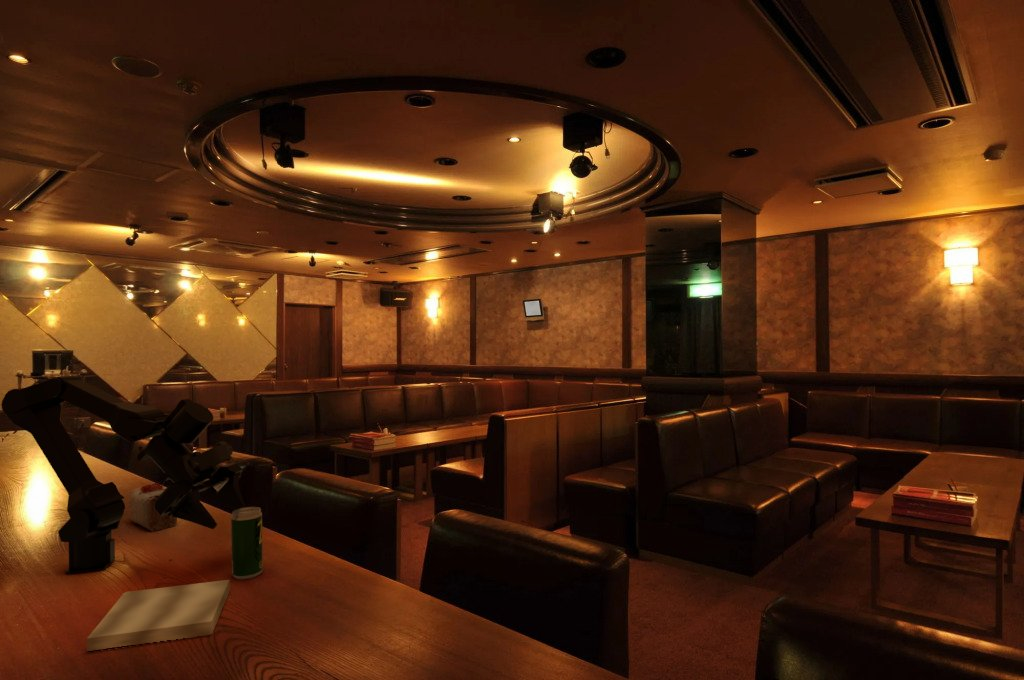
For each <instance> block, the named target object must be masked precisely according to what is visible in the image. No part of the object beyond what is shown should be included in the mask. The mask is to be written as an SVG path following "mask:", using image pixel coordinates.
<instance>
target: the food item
mask: <svg viewBox="0 0 1024 680" xmlns="http://www.w3.org/2000/svg"><path fill="white" fill-rule="evenodd" d="M165 482H166V481H164V480H163V483H162V484H161V483H159V482H154V483H151V484H146V485H142V486H140V487H137V488H133V489H131V490H130V491H129V502H128V503H129V506H128V507H129V509H130V510H129V511H130V519H131V522H132V523H135V524H138V525H139V526H142V527H143V528H145V529H147V530H149V531H150V532H157V531H161V530H164V528H165V529H169V528H168V527H171V528H174V527H175V526H176V525H177V522H178V518H176V517H168V516H167V515H168V514H169V513H168V514H166V515H164V516H160V515H159V514H158V513H157V512H156V510H155V509H154V501H155V500H156V499H157V498H158V497H159V496H160V495H161V493H162V492H163V491H164V490H165V489H166V488H164V486H163V485H164V483H165ZM173 526H174V527H173ZM160 529H161V530H160Z"/></svg>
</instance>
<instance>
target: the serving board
mask: <svg viewBox="0 0 1024 680" xmlns="http://www.w3.org/2000/svg"><path fill="white" fill-rule="evenodd" d="M230 581H231V580H230V579H224V580H216V581H215V580H214V581H208V582H207V581H206V582H199V583H191V584H183V585H174V586H167V587H165V586H163V587H158V588H157V587H156V588H147V589H140V590H132V591H131V590H130V591H125V592H124V593H122V595H121V596H120V597H119V599H117V601H116V602H115V603H114V605H113V606H112V607H111V609H110V610H109V611H108V612H107V613H106V615H105V616H104V617H103V618H102V619H101V621H99V623H98V625H96V627H95V628H94V629H93V631H92V632H91V633H90V634H89V635H88V637H86V652H87V651H92V650H98V649H106V648H112V647H118V646H119V647H121V646H127V645H136V644H143V643H150V644H154V643H153V642H157V643H161V642H160V641H164V642H168V641H167V640H171V641H177V640H176V639H178V640H183V638H185V639H190V638H197V637H198V636H199V637H205V636H206V637H207V636H213V632H214V630H215V629H216V626H217V623H218V621H219V618H220V616H221V613H222V611H223V608H224V606H225V604H226V601H227V599H228V596H229V594H230V592H231V588H230V584H231V583H230ZM199 637H198V638H199ZM143 645H144V644H143ZM136 646H137V645H136Z"/></svg>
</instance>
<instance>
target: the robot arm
mask: <svg viewBox="0 0 1024 680" xmlns="http://www.w3.org/2000/svg"><path fill="white" fill-rule="evenodd" d="M66 402H67V403H69V404H71V405H73V406H75V407H77V408H79V409H81V410H83V411H85V412H87V413H89V414H91V415H93V416H95V417H97V418H99V419H101V420H104V421H105V422H106V423H108V424H109V426H110V428H111V430H112V431H113V432H114V433H115V434H117V435H118V436H119V437H121V438H122V439H123V440H125V441H127V442H130V443H135V442H140V441H143V440H148V439H150V440H149V441H148V442H147V443H146V444H143V445H140V446H138V453H137V455H136V460H137V462H141V461H145V460H148V459H151V461H153V463H155V464H156V466H157V467H158V468H159V469H160V470H161V471H162V472H163V473H164V474H163V475H162V476H161V477H160V478H161V479H162V481H163V482H164V481H165V482H166V481H169V480H171V482H172V483H170V484H169V485H168V486H166V488H164V489H165V490H164V491H163V492H162V493H161V495H160V496H159V497H158V498H157V499H156V500H155V501H154V509H155V510H156V512H157V513H158V514H159V515H160V516H164V515H166V514H168V513H169V514H168V515H167V516H168V517H176V518H177V519H181V520H183V521H187V522H190V523H193V524H197V525H200V526H202V527H205V528H208V529H211V530H215V528H216V527H217V526H218V523H217V522H216V520H215V519H214V517H213V515H211V513H210V512H209V511H208V509H207V508H206V507H205V506H204V505H203V503H202V502H201V500H200V493H201V492H204V491H206V490H208V491H209V492H210V493H212V494H215V495H214V496H213V497H214V498H215V499H217V500H219V501H220V502H222V503H224V504H225V505H227V506H229V508H231V509H233V510H236V509H240V508H245V507H247V506H246V503H245V500H244V498H243V495H242V494H241V493H242V492H241V491H240V488H239V480H240V478H241V477H242V472H243V468H242V467H241V466H240V465H239V464H238V462H230V463H227V464H225V465H221V466H220V467H219V468H218V467H217V466H218V465H220V464H223V463H224V462H227V461H230V460H233V457H232V455H233V451H234V447H232V446H231V445H230V444H229V443H227V441H225V440H222V441H218V443H216V444H213V445H212V447H211V448H209V449H206V450H205V451H203V452H201V451H198V450H197V451H194V452H192V450H191V449H190V448H189V447H187V445H186V444H192V443H193V444H194V442H195V441H196V440H197V439H198V438H199V437H200V435H202V433H203V432H204V431H205V430H206V429H207V428H208V427H209V426H210V425H211V423H212V422H213V420H214V415H213V413H212V411H211V410H210V409H209V408H207V407H205V406H204V405H201V404H199V403H197V402H194V401H193V400H191V399H190V398H184V399H182V398H181V400H180V401H179V402H178V403H177V405H176V406H175V408H174V409H173V410H172V412H170V413H169V414H167V413H165V412H164V411H163V410H161V409H160V408H157V407H153V406H149V405H145V404H142V403H132V402H128V401H125V400H123V399H121V398H118V397H117V396H115V395H112V394H111V393H109V392H107V391H104V390H102V389H100V388H99V387H96V386H94V385H92V384H91V383H88V382H86V381H84V380H83V379H81V378H80V377H78V376H76V375H72V374H71V375H60V376H54V377H51V378H49V379H48V380H47V379H46V380H44V381H43V382H42V381H41V382H38V383H35V384H32V385H29V386H26V387H21V388H20V387H19V388H12V389H9V390H8V391H7V392H6V393H5V395H4V397H3V398H2V400H1V404H0V406H1V410H2V411H3V413H4V414H5V416H6V417H7V418H8V419H9V420H10V421H11V422H12V424H13V425H14V426H17V427H18V428H20V429H22V430H24V431H26V432H28V433H29V434H30V435H31V436H32V437H33V439H34V440H35V442H36V444H37V446H38V448H39V449H40V450H41V452H42V454H43V455H44V456H45V458H46V460H47V461H48V463H49V465H50V466H51V469H52V470H53V471H54V472H55V475H56V477H57V479H58V480H59V482H61V485H62V486H63V487H64V490H65V491H66V493H67V495H68V499H67V507H66V511H67V513H68V517H69V518H68V520H67V521H65V523H64V524H63V525H62V526H61V528H60V529H59V530H58V531H57V534H58V536H59V539H60V542H62V543H68V568H67V569H66V570H65V571H64V574H65V575H71V574H79V573H88V572H96V571H97V572H98V571H103V570H106V569H107V567H108V566H110V565H111V564H112V562H113V561H115V559H116V545H115V544H116V543H115V538H114V537H112V531H113V530H117V529H119V526H120V523H121V519H122V518H123V516H124V514H125V510H126V504H125V502H124V499H125V496H124V495H122V494H121V493H120V491H119V489H118V488H117V485H116V484H115V482H114V481H110V482H107V483H103V482H101V481H99V480H98V479H97V478H96V476H95V474H94V473H93V472H92V470H91V468H90V467H89V465H88V463H87V462H86V460H85V459H84V457H83V455H82V454H81V453H80V451H79V449H78V448H77V446H76V444H75V443H74V441H73V439H72V438H71V436H70V435H69V433H68V431H67V430H66V428H65V427H64V425H63V424H62V422H61V417H62V408H63V407H62V405H61V404H63V403H66Z"/></svg>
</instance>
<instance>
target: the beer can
mask: <svg viewBox="0 0 1024 680" xmlns="http://www.w3.org/2000/svg"><path fill="white" fill-rule="evenodd" d="M230 536H231V537H230V539H231V542H230V544H231V545H230V547H231V549H230V550H231V576H232V577H233V578H234V579H235V580H239V581H241V580H243V581H244V580H250V579H254V578H256V577H259V576H260V575H261V574H262V572H263V569H264V559H263V558H264V554H263V553H264V551H263V547H264V546H263V545H264V544H263V539H264V538H263V513H262V509H261V507H257V506H249V507H248V506H246V507H245V508H240V509H236V510H235V509H233V511H232V512H231V517H230Z"/></svg>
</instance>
